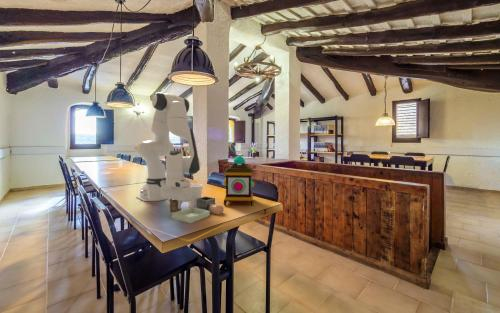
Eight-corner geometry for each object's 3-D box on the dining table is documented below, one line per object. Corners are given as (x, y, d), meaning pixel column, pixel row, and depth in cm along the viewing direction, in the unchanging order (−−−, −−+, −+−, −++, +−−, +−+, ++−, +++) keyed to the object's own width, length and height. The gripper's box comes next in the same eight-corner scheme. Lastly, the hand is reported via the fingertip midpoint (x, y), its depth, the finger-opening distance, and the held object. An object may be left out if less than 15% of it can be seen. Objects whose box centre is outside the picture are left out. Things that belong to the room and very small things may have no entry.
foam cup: (198, 209, 135) (198, 187, 134) (183, 208, 137) (183, 186, 136) (205, 205, 145) (204, 184, 144) (190, 204, 147) (190, 183, 146)
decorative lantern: (254, 207, 141) (255, 156, 139) (221, 206, 142) (221, 156, 140) (254, 198, 161) (255, 154, 159) (225, 198, 162) (225, 154, 160)
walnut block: (169, 212, 126) (169, 200, 125) (176, 210, 129) (175, 199, 129) (175, 213, 124) (174, 202, 123) (181, 211, 127) (180, 200, 127)
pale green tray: (171, 219, 119) (171, 213, 119) (191, 212, 130) (191, 207, 130) (190, 224, 112) (190, 218, 112) (209, 216, 123) (209, 211, 123)
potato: (207, 210, 126) (212, 202, 129) (212, 215, 130) (216, 207, 132) (216, 212, 123) (220, 204, 126) (220, 217, 126) (224, 209, 129)
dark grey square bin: (196, 211, 132) (196, 199, 132) (205, 208, 138) (205, 196, 138) (206, 213, 128) (206, 200, 128) (215, 210, 134) (215, 198, 134)
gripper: (157, 180, 128) (157, 205, 129) (183, 184, 117) (184, 212, 118) (167, 179, 133) (167, 203, 135) (193, 182, 123) (193, 209, 124)
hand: (175, 207), depth 126 cm, fingers closed on walnut block, 4 cm apart
